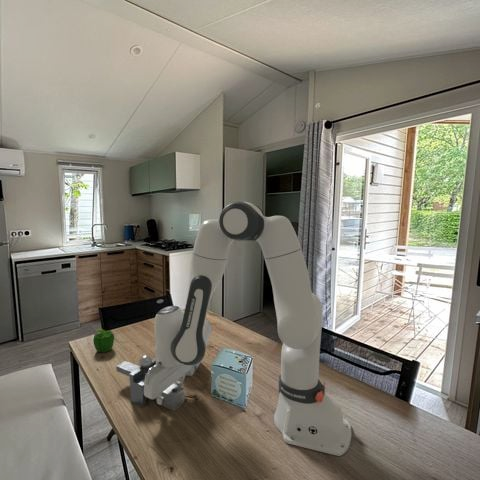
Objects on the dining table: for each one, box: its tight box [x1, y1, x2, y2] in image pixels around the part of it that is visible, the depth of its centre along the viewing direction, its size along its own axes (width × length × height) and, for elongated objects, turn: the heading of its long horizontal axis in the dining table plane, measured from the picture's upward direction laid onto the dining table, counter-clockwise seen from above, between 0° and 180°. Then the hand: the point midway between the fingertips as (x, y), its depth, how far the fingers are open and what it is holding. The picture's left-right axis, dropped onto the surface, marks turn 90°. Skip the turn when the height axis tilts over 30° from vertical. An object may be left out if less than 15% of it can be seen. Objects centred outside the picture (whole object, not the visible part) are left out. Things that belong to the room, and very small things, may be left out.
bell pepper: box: [92, 328, 115, 353], centre depth 130 cm, size 8×8×10 cm
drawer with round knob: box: [115, 354, 156, 408], centre depth 103 cm, size 18×13×13 cm
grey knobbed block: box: [155, 383, 185, 411], centre depth 97 cm, size 8×5×5 cm, turn 58°
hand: (170, 394), depth 96 cm, fingers open, 8 cm apart
